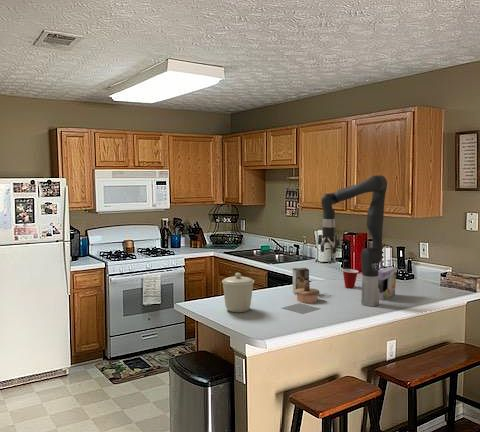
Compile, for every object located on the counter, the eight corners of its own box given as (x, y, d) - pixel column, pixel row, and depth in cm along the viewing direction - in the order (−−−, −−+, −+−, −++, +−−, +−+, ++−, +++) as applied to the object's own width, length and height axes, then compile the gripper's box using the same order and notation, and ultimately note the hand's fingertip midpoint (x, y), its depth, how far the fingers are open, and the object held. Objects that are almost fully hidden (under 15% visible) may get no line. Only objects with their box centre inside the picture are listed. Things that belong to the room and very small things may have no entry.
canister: (234, 316, 263) (234, 277, 262) (215, 309, 278) (215, 272, 276) (260, 311, 274) (261, 273, 272) (241, 304, 288) (241, 268, 287)
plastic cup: (358, 289, 327) (359, 271, 326) (341, 289, 329) (342, 271, 328) (358, 286, 337) (358, 268, 336) (341, 285, 339) (342, 268, 338)
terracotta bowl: (320, 300, 297) (320, 292, 297) (307, 304, 290) (308, 295, 289) (305, 297, 306) (305, 289, 305) (293, 300, 298) (293, 292, 297)
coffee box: (305, 292, 319) (306, 267, 318) (309, 294, 313) (309, 269, 312) (292, 292, 317) (292, 268, 316) (295, 295, 311) (295, 269, 310)
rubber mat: (321, 309, 278) (321, 308, 278) (302, 314, 267) (302, 313, 267) (299, 303, 290) (299, 303, 290) (280, 308, 279) (280, 308, 279)
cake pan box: (381, 300, 298) (382, 271, 297) (373, 299, 302) (374, 270, 300) (396, 295, 312) (396, 267, 311) (388, 294, 316) (389, 266, 314)
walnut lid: (324, 292, 297) (324, 281, 296) (308, 296, 287) (308, 284, 286) (305, 288, 308) (305, 277, 307) (289, 292, 297) (289, 280, 297)
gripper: (342, 226, 298) (341, 253, 300) (323, 224, 309) (322, 250, 310) (334, 227, 293) (334, 254, 295) (315, 225, 304) (315, 251, 305)
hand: (328, 252), depth 302 cm, fingers open, 8 cm apart
